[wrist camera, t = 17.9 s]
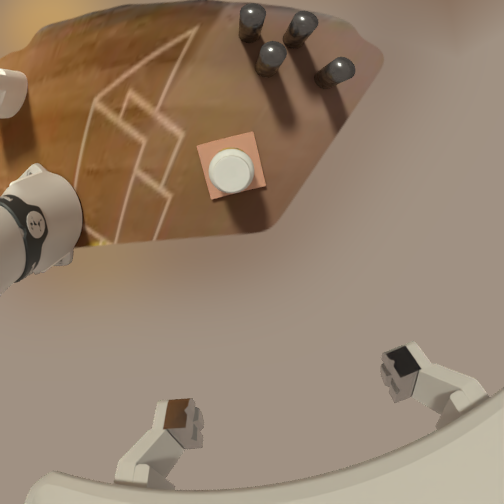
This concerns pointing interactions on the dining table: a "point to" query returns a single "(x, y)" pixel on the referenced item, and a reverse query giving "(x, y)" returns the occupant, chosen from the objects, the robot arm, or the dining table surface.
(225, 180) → the supplement bottle
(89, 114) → the dining table surface
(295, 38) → the posts
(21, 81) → the cylinder with rectangular tab
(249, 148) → the terracotta tile
